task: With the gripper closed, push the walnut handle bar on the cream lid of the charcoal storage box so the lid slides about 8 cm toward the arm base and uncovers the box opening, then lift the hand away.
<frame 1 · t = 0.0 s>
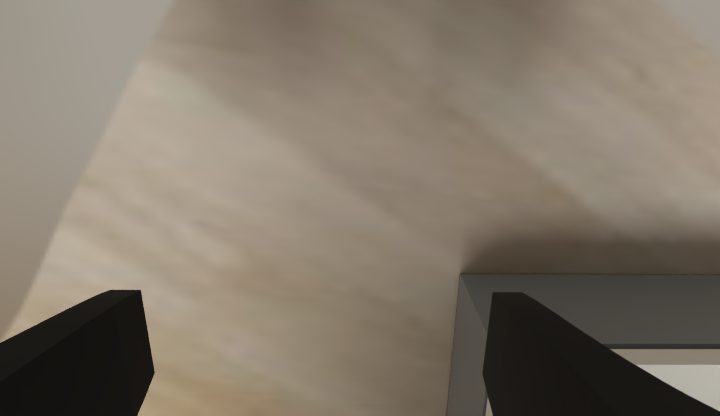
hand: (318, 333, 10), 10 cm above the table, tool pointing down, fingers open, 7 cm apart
storage box: (581, 383, 23), on the table
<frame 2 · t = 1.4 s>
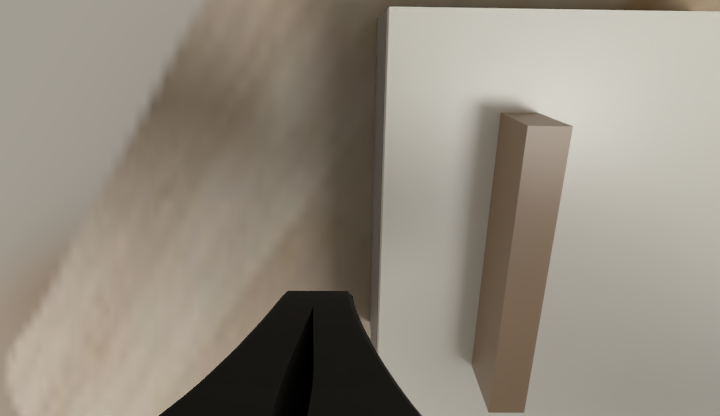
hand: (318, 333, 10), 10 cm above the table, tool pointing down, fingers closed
storage box: (517, 189, 19), on the table
lid: (597, 261, 13), point 7 cm above the table, slide at 0.0 cm
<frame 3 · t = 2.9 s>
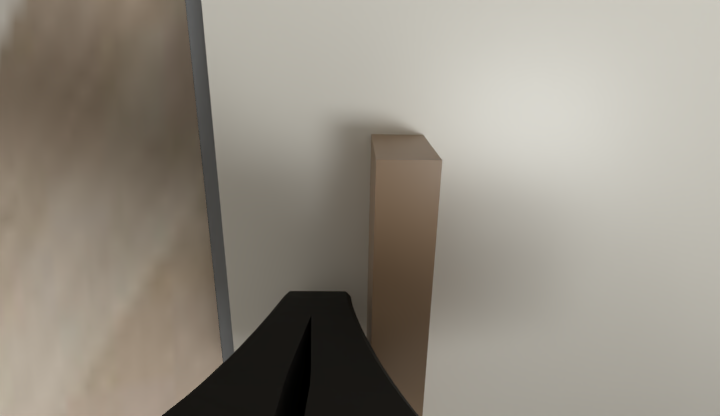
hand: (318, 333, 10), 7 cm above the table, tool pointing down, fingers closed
storage box: (430, 216, 16), on the table
lid: (510, 331, 10), point 7 cm above the table, slide at 0.6 cm, touching gripper
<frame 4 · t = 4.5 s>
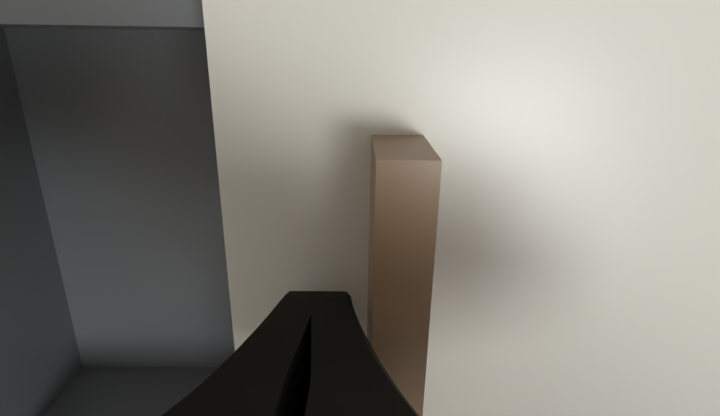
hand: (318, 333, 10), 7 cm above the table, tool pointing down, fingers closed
storage box: (218, 214, 16), on the table
lid: (510, 330, 10), point 7 cm above the table, slide at 8.0 cm, touching gripper
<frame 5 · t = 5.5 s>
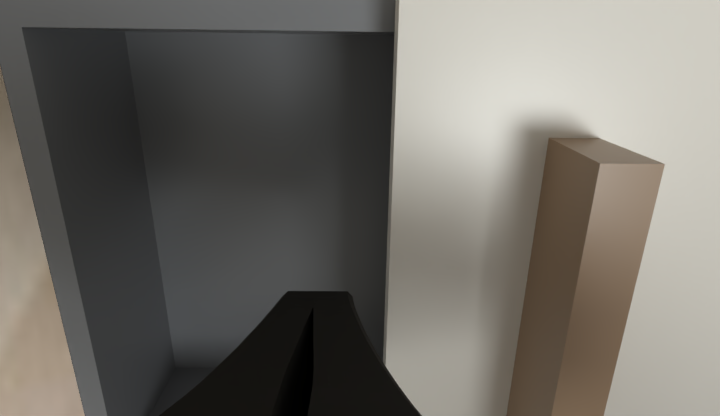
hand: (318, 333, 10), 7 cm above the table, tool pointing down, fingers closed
storage box: (317, 216, 16), on the table
lid: (671, 331, 10), point 7 cm above the table, slide at 8.0 cm
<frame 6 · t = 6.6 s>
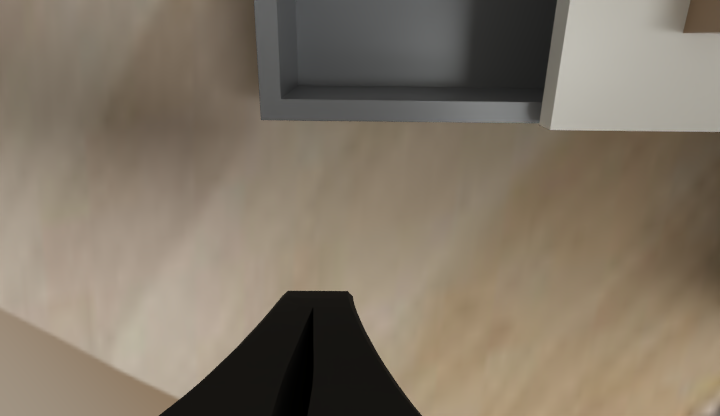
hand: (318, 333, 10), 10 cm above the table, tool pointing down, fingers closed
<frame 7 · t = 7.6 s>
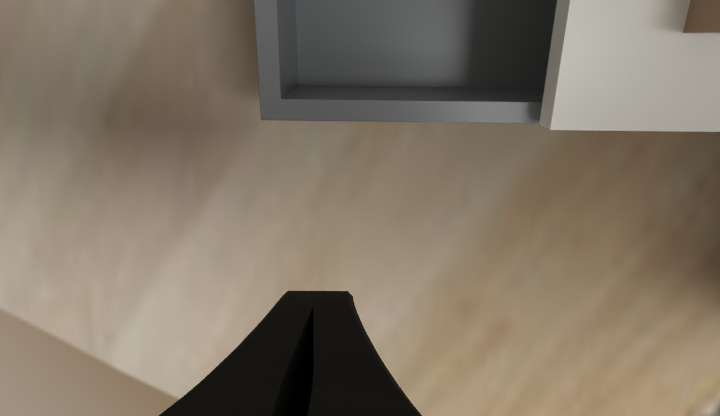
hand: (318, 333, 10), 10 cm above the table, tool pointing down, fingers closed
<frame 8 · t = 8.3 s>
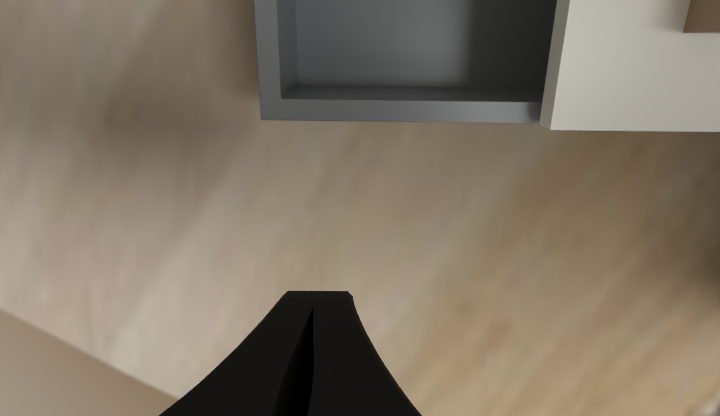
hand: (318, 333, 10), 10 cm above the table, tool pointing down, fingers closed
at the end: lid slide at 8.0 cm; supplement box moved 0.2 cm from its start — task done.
